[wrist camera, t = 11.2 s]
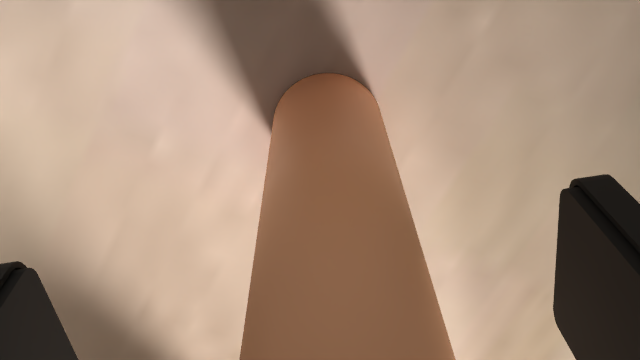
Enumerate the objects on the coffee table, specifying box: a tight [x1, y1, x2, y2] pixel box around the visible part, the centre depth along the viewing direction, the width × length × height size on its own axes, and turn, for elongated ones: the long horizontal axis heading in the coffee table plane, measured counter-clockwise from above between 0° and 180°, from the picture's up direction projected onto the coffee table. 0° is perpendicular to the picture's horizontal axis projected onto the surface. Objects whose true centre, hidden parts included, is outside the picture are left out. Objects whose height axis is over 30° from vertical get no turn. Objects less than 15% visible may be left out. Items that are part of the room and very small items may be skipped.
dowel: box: [240, 73, 455, 360], centre depth 13 cm, size 3×3×12 cm
